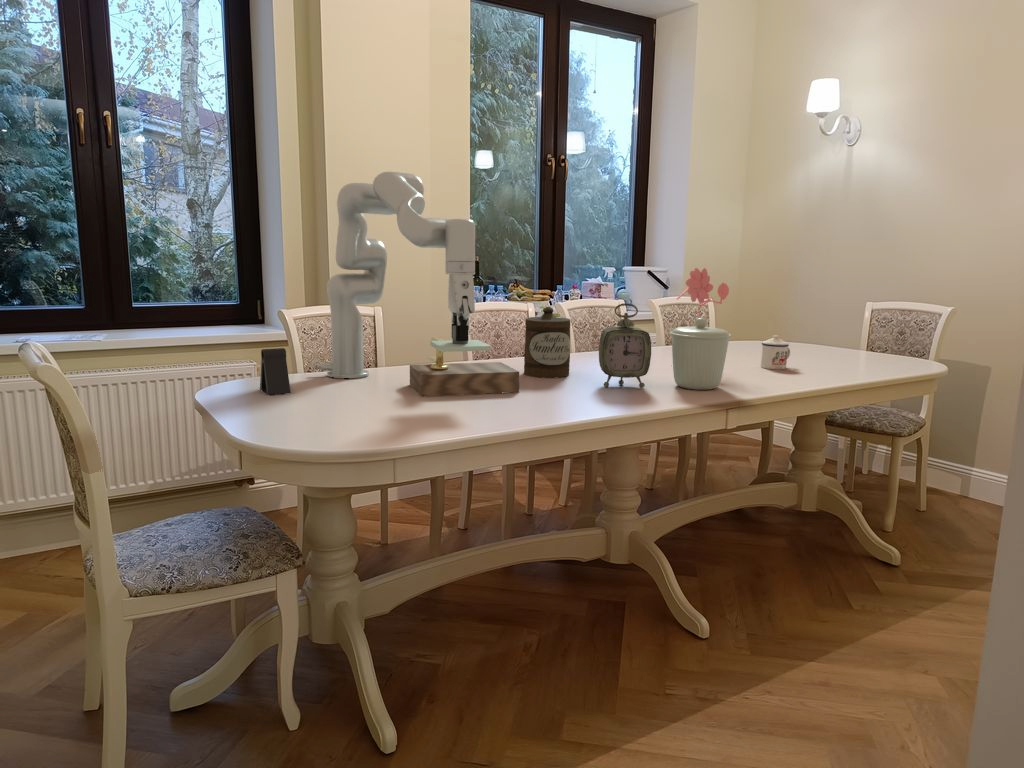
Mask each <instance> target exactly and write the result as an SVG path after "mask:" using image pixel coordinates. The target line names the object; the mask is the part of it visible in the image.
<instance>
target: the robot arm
mask: <svg viewBox="0 0 1024 768" xmlns="http://www.w3.org/2000/svg"><path fill="white" fill-rule="evenodd" d="M424 192H425V188H424V183H423V182H422V180H421V178H420V177H418V176H417V175H416V174H414V173H413V174H412V173H407V172H406V173H405V172H399V171H398V172H397V171H383V172H380V173H379V174H377V175H376V176H375V177H374V179H373V182H372V183H366V182H365V183H364V182H353V183H352V182H351V183H347V184H345V185H343V186H342V187H341V189H340V190H339V192H338V193H337V199H336V200H337V201H336V207H337V217H338V228H337V236H336V246H335V262H336V265H337V266H338V268H341V269H343V270H346V271H347V270H348V271H363V273H362V272H361V273H360V272H359V273H356V272H355V273H353V272H351V273H350V272H348V273H337V274H335V275H333V276H331V277H330V278H329V279H328V281H327V284H326V292H327V297H328V303H329V308H330V325H331V329H330V330H331V359H330V362H327V363H316V369H317V370H316V371H320V370H321V371H327V374H326V375H327V377H329V378H332V377H334V379H344V378H349V379H360V378H365V377H368V376H369V370H366V369H364V331H363V330H364V328H363V327H364V323H363V316H362V313H361V312H360V311H359V309H358V307H357V305H368V304H375V303H378V302H379V301H380V300H381V298H382V296H383V293H384V288H385V280H386V270H387V262H388V253H387V249H386V247H385V245H384V243H383V242H382V241H381V240H379V239H376V238H367V237H368V222H367V219H366V217H365V216H364V215H365V214H369V215H381V216H382V215H383V216H384V215H385V216H391V215H392V216H393V215H396V222H397V227H398V230H399V232H400V234H402V236H404V237H405V239H407V240H408V241H409V242H410V243H412V244H413V245H414V246H416V247H419V248H421V249H423V248H424V249H445V275H448V288H447V289H448V291H447V295H448V296H447V299H448V301H447V303H448V309H449V311H450V312H451V327H452V326H454V325H457V326H456V341H468V340H470V339H469V327H470V324H469V317H470V314H474V313H475V309H476V308H475V307H476V306H475V302H476V301H475V285H474V284H475V283H474V275H476V224H475V222H474V220H472V219H467V218H440V217H439V218H438V217H437V218H436V217H423V216H421V215H422V214H423V212H424V210H425V207H426V206H425V205H426V201H425V198H424V194H425V193H424Z"/></svg>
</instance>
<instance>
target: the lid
mask: <svg viewBox="0 0 1024 768" xmlns="http://www.w3.org/2000/svg"><path fill="white" fill-rule="evenodd" d="M456 326H457V325H454V326H452V325H451V340H447V339H446V340H447V341H432V340H430V341H429V342H430V346H431V347H433V348H434V349H435V350H436V349H437V350H439V351H440V352H443V353H447V352H448V353H449V352H450V353H451V352H453V353H454V352H455V353H456V352H488V351H489V352H491V351H492V346H491V345H490V344H488V343H486V342H484V341H481V340H479V339H469V340H468V341H456Z"/></svg>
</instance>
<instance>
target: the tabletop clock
mask: <svg viewBox="0 0 1024 768" xmlns="http://www.w3.org/2000/svg"><path fill="white" fill-rule="evenodd" d="M627 306H628V307H632V308H634V309H635V310H636V311H635V313H633V314H628V312H624V314H619V313H617V310H618V309H619V308H620V307H627ZM638 312H639V310H638V307H637V306H636V305H634V304H632V303H620V304H618V305H616V307H615V308H614V314H615V315H616V316H617V317H620V318H621V319H619V320H618V322H617V324H616V326H610V327H606V328H604V329H602V331H601V334H600V338H599V343H598V344H599V345H598V362H599V363H598V364H599V367H600V369H601V370H600V371H602V372H603V373H604V374H605V375H607V376H608V377H607V379H606V380H607V381H605V382H604V383H603V387H605V388H608V387H609V386H610V383H609V382H610V381H611V378H612V377H615V378H620V380H618V385H620V386H623V385H624V383H625V382H624V378H636V379H637V381H638V383H639V384H638V387H639V388H640V389H644V387H645V383H644V382H642V380H641V378H640V377H644V376H646V375H647V374H648V373H649V370H650V367H651V366H650V365H651V360H652V340H651V335H650V334H649V333H650V332H648V331H646V330H645V329H641V328H639V327H635V323H634V322H633V321H632V319H630V318H633V317H635V316H637V314H638Z"/></svg>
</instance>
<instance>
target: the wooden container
mask: <svg viewBox="0 0 1024 768" xmlns="http://www.w3.org/2000/svg"><path fill="white" fill-rule="evenodd" d="M542 312H543V313H542V315H541V316H533V317H532V316H529V317H527V318H525V333H524V334H525V336H524V338H525V339H524V352H523V353H524V355H523V357H524V358H523V359H524V362H523V364H524V365H523V373H524V375H526V376H528V375H529V376H528V377H533V376H534V377H533V378H542V377H545V379H551V378H552V379H553V378H554V379H556V378H555V377H558V378H563V377H564V376H565V377H567V376H569V375H570V363H571V362H570V361H571V319H570V318H568V317H567V318H566V317H560V316H559V317H558V316H555V315H554V313H553V312H554V308H552V307H550V306H545V307H543V308H542Z"/></svg>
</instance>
